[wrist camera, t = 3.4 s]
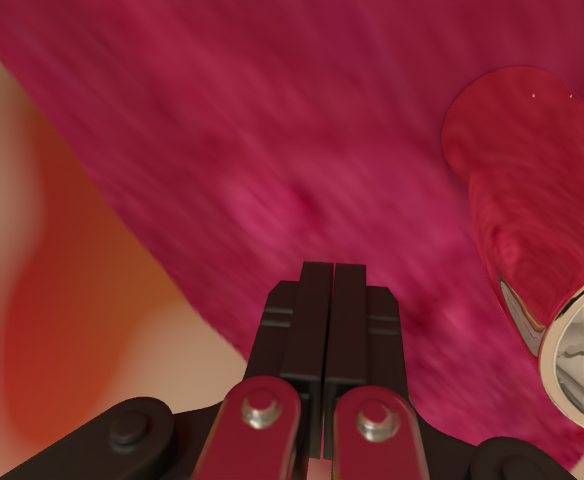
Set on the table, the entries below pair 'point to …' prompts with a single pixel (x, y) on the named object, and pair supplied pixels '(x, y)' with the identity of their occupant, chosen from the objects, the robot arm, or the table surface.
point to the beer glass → (528, 213)
